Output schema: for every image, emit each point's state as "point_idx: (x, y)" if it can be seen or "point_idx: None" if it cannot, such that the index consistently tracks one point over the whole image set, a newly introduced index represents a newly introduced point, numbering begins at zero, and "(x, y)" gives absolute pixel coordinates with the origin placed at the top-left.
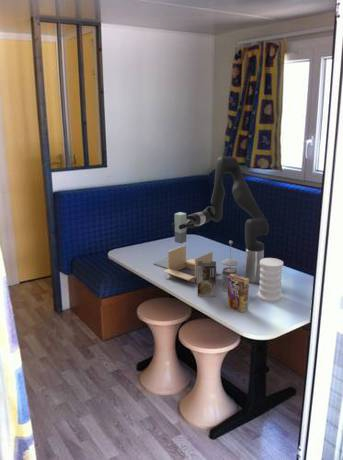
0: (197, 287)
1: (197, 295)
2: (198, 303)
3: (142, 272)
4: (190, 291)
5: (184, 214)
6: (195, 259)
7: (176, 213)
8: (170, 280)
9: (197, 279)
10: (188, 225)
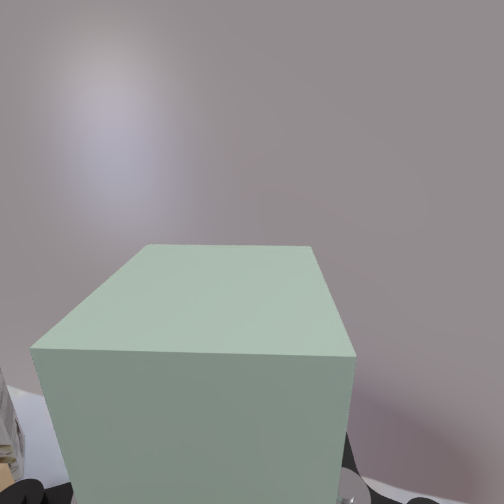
0: (14, 409)
1: (23, 434)
2: (18, 398)
3: (375, 485)
4: (61, 454)
5: (90, 307)
6: (2, 463)
7: (296, 261)
8: None
9: (4, 381)
10: (25, 497)
